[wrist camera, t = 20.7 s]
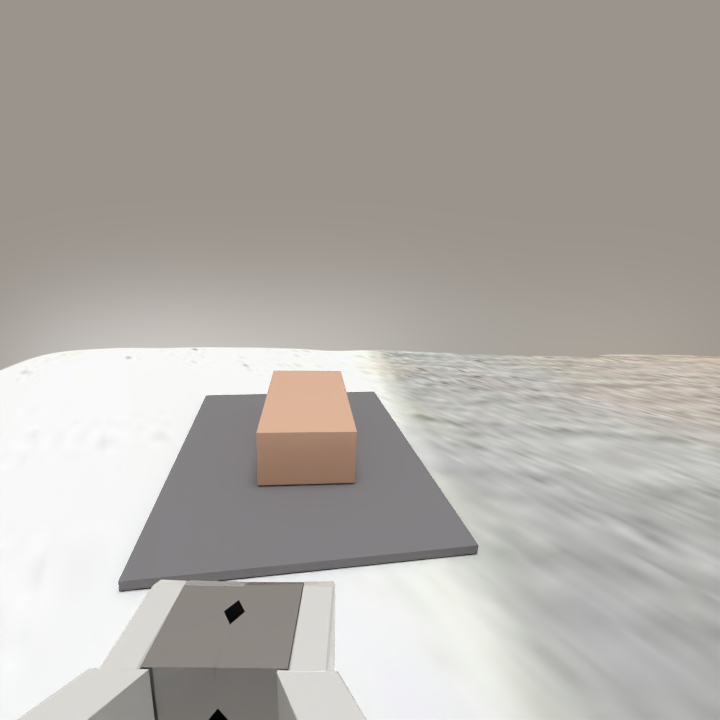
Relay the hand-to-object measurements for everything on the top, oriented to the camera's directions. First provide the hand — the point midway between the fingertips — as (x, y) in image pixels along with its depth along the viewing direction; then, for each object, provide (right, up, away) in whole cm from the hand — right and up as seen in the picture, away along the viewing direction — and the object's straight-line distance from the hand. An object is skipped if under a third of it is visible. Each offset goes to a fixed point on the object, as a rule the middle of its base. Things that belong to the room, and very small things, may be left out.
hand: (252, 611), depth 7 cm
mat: (-2, -1, +19) cm, 19 cm away
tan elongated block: (-1, -1, +14) cm, 14 cm away
